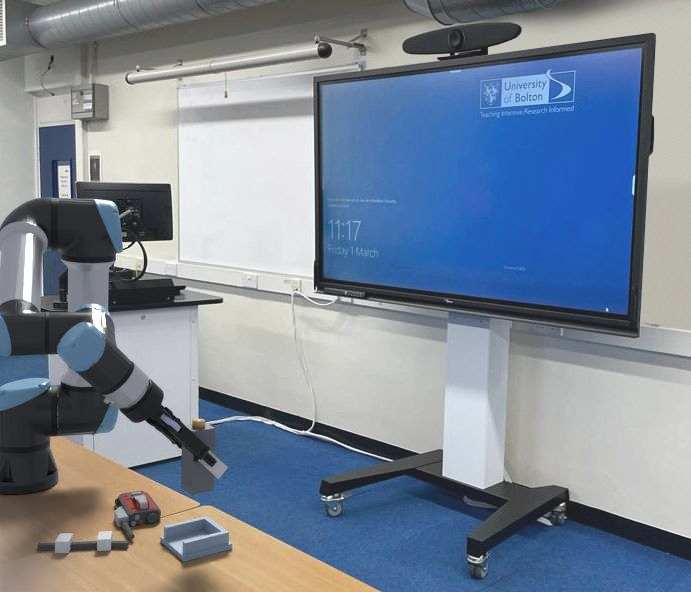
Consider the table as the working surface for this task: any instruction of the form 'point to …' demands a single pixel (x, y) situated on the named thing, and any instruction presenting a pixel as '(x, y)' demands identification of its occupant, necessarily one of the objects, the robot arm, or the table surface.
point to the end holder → (195, 538)
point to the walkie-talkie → (135, 510)
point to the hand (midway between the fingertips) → (215, 468)
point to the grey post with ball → (194, 473)
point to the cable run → (83, 543)
